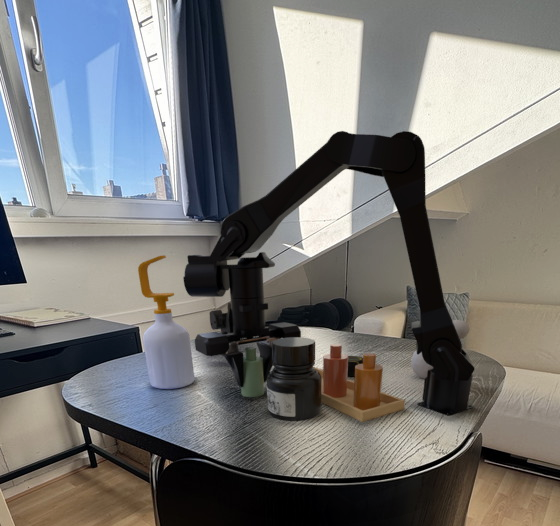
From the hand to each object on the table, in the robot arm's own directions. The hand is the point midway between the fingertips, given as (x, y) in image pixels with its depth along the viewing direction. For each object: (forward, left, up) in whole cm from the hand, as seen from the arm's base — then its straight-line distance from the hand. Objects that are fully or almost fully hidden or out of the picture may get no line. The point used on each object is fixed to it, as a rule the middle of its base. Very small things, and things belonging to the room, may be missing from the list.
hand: (252, 384), depth 76 cm
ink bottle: (-12, -1, -2) cm, 12 cm away
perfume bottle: (-13, -35, -2) cm, 37 cm away
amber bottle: (-18, -12, -2) cm, 22 cm away
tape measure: (0, -23, -2) cm, 23 cm away
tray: (-10, -12, -2) cm, 15 cm away
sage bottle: (0, 0, -2) cm, 2 cm away
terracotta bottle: (-10, -12, -2) cm, 15 cm away
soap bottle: (+17, +10, -2) cm, 20 cm away
